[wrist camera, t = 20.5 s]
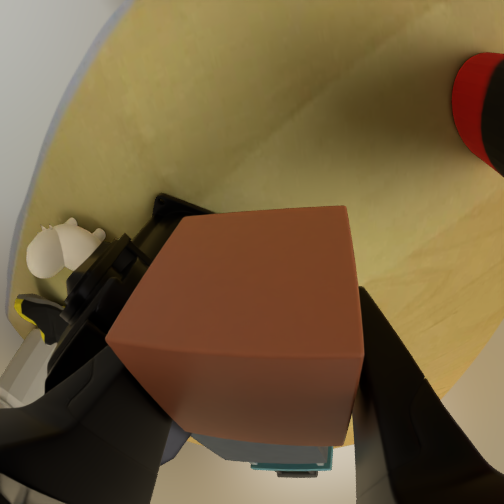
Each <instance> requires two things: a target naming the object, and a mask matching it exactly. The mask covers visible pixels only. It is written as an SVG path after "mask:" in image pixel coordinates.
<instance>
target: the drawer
mask: <svg viewBox="0 0 504 504" xmlns="http://www.w3.org/2000/svg"><path fill="white" fill-rule="evenodd" d="M332 456H333V446H328V456H327V457H328V458H327V463H311V464H278V463H256V462H249V463H251V468H252V469H254V470H272V471H275V472H277V476H278V477H293V478H298V477H299V478H305V477H308V478H309V477H310V478H311V477H317V475H318V471H327V470H332Z"/></svg>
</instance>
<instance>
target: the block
mask: <svg viewBox="0 0 504 504" xmlns="http://www.w3.org/2000/svg"><path fill="white" fill-rule="evenodd" d="M105 340H106V342H107V343H108V345H109V346H110V347H111V349H112V350H113V351H114V353H115V354H116V355H117V356H118V358H119V359H120V360H121V361H122V363H123V364H124V365H125V366H126V368H127V369H128V370H129V371H130V372H131V374H132V375H133V376H134V377H135V378H136V380H137V381H138V382H139V383H140V384H141V385H142V387H143V388H144V389H145V390H146V391H147V392H148V393H149V394H150V396H151V397H152V398H153V399H154V400H155V401H156V402H157V403H158V404H159V405H160V406H161V407H162V409H163V410H164V411H165V412H166V413H167V414H168V415H169V416H170V417H171V418H172V419H173V420H174V421H175V422H176V423H177V424H178V425H179V426H180V427H181V428H182V429H183V430H184V431H186V432H190V433H195V434H200V435H206V436H211V437H218V438H224V439H231V440H238V441H246V442H255V443H265V444H278V445H294V446H342V445H343V444H344V441H345V438H346V434H347V430H348V427H349V423H350V419H351V415H352V411H353V407H354V402H355V398H356V394H357V389H358V385H359V380H360V375H361V370H362V365H363V359H364V341H363V328H362V317H361V306H360V297H359V288H358V280H357V272H356V264H355V257H354V250H353V244H352V237H351V231H350V225H349V219H348V214H347V208H346V206H344V205H342V206H321V207H303V208H286V209H271V210H257V211H244V212H232V213H220V214H208V215H197V216H187V217H184V218H183V219H182V220H181V222H180V223H179V224H178V226H177V227H176V229H175V230H174V231H173V233H172V234H171V236H170V237H169V239H168V240H167V241H166V243H165V244H164V246H163V247H162V249H161V250H160V252H159V253H158V255H157V256H156V258H155V259H154V261H153V262H152V264H151V265H150V267H149V268H148V270H147V271H146V273H145V274H144V276H143V277H142V279H141V280H140V282H139V283H138V285H137V287H136V288H135V290H134V291H133V293H132V294H131V296H130V298H129V299H128V301H127V302H126V304H125V306H124V307H123V309H122V310H121V312H120V314H119V315H118V317H117V319H116V320H115V322H114V324H113V325H112V327H111V329H110V330H109V332H108V334H107V335H106V337H105Z"/></svg>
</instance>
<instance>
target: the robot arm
mask: <svg viewBox="0 0 504 504" xmlns="http://www.w3.org/2000/svg"><path fill="white" fill-rule="evenodd" d="M160 199H163V200H164V203H163V202H161V200H160ZM208 214H216V213H214V212H211V211H209V210H206V209H204V208H201V207H198V206H196V205H193V204H191V203H188V202H185V201H183V200H180V199H177V198H175V197H172V196H170V195H167V194H164V193H161V194H159V195H158V196H157V197H156V198H155V202H154V208H153V214H152V218H151V219H150V220H149V221H148V222H147V223H146V225H145V226H144V227H143V228H142V229H141V231H140V232H139V233H138V234H137V235H136V237H135V238H134V239H133V240H132V241H131V238H130V237H129V236H128V235H127V234H126V233H124V234H123V236H122V237H121V238H120V239H119V240H117V239H116V238H115V239H114V240H113V241H112V242H111V243H108V242H102V243H101V244H100V245H99V246H98V247H97V248H96V249H95V251H94V252H93V253H92V254H91V255H90V256H89V257H88V258H87V259H86V260H85V261H84V262H83V263H82V264H81V265H80V266H79V267H78V268H77V269H76V270H75V271H74V272H73V273H72V274H71V275H70V276H69V278H68V279H67V281H66V284H67V294H68V297H67V298H66V299H65V301H64V302H65V303H66V304H67V305H66V307H65V308H64V310H63V311H62V312H61V314H60V316H61V317H62V318H63V319H64V320H65V321H66V322H68V323H69V325H68V326H67V328H66V329H65V331H64V332H63V334H62V336H61V338H60V340H59V342H58V343H57V345H56V347H55V349H54V351H53V353H52V355H51V357H50V359H49V362H48V364H47V378H46V380H45V390H44V395H43V396H41V397H40V398H39V399H37V400H36V401H34V402H33V403H31V404H28V405H26V406H23V407H16V408H0V504H150V501H151V497H152V493H153V490H154V486H155V482H156V478H157V475H158V474H157V473H158V471H159V467H160V466H161V465H163V464H165V463H166V462H168V461H170V460H172V459H173V458H174V457H175V456H176V455H177V453H178V452H179V450H180V449H181V448H182V446H183V445H184V443H185V442H186V441H187V439H188V438H189V437H190V435H191V434H192V433H190V432H186V431H184V430H183V429H182V428H181V427H180V426H179V425H178V424H177V423H176V422H175V421H174V420H173V419H172V418H171V417H170V416H169V415H168V414H167V413H166V412H165V411H164V410H163V409H162V407H161V406H160V405H159V404H158V403H157V402H156V401H155V400H154V399H153V398H152V397H151V396H150V394H149V393H148V392H147V391H146V390H145V389H144V388H143V387H142V385H141V384H140V383H139V382H138V381H137V380H136V378H135V377H134V376H133V375H132V374H131V372H130V371H129V370H128V369H127V368H126V366H125V365H124V364H123V363H122V361H121V360H120V359H119V358H118V356H117V355H116V354H115V353H114V351H113V350H112V349H111V347H110V346H109V345H108V343H107V342H106V340H105V337H106V335H107V334H108V332H109V330H110V329H111V327H112V325H113V324H114V322H115V320H116V319H117V317H118V315H119V314H120V312H121V310H122V309H123V307H124V306H125V304H126V302H127V301H128V299H129V298H130V296H131V294H132V293H133V291H134V290H135V288H136V287H137V285H138V283H139V282H140V280H141V279H142V277H143V276H144V274H145V273H146V271H147V270H148V268H149V267H150V265H151V264H152V262H153V261H154V259H155V258H156V256H157V255H158V253H159V252H160V250H161V249H162V247H163V246H164V244H165V243H166V241H167V240H168V239H169V237H170V236H171V234H172V233H173V231H174V230H175V229H176V227H177V226H178V224H179V223H180V222H181V220H182V219H183V218H184V217H187V216H197V215H208ZM358 288H359V297H360V306H361V317H362V328H363V341H364V359H363V365H362V370H361V375H360V380H359V385H358V389H357V394H356V398H355V402H354V407H353V411H352V416H353V429H354V445H355V464H356V498H357V500H356V504H504V474H502V473H500V472H499V471H497V470H496V469H494V468H493V467H492V466H491V465H489V464H488V462H486V460H485V459H484V458H483V457H482V456H481V454H480V453H479V452H478V450H477V449H476V448H475V446H474V445H473V444H472V442H471V441H470V440H469V438H468V437H467V436H466V434H465V433H464V432H463V431H462V429H461V428H460V427H459V425H458V424H457V423H456V422H455V420H454V419H453V417H452V416H451V415H450V413H449V412H448V411H447V409H446V408H445V407H444V405H443V404H442V402H441V401H440V399H439V398H438V396H437V395H436V393H435V392H434V390H433V388H432V387H431V385H430V384H429V382H428V380H427V379H426V378H425V379H424V377H425V376H424V374H423V373H422V371H421V370H420V368H419V366H418V365H417V363H416V362H415V360H414V359H413V357H412V356H411V354H410V353H409V351H408V350H407V348H406V347H405V345H404V344H403V342H402V341H401V339H400V338H399V336H398V335H397V333H396V332H395V330H394V329H393V328H392V326H391V325H390V323H389V322H388V320H387V319H386V317H385V316H384V315H383V313H382V312H381V310H380V309H379V308H378V306H377V305H376V303H375V302H374V301H373V299H372V298H371V296H370V295H369V294H368V292H367V291H366V290H365V288H364V287H362V286H358Z"/></svg>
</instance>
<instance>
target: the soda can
mask: <svg viewBox="0 0 504 504" xmlns="http://www.w3.org/2000/svg"><path fill="white" fill-rule="evenodd" d="M452 110H453V116H454V121H455V125H456V127H457V130H458V132H459V135H460V137H461V138H462V140H463V142H464V143H465V145H466V146H467V147H468V148H469V150H470V151H471V152H472V153H474V154H475V155H476V156H477V157H479V158H480V159H481V160H483V161H484V162H485V163H487V164H488V165H489V166H490V167H492V168H493V169H494V170H495V171H497V172H498V173H499V174H500V175H502V176H503V177H504V54H499V53H489V52H487V53H479V54H477V55H475V56H472V57H471V58H470V59H468V60H467V61H466V62H465V63H464V64H463V66H462V67H461V68H460V70H459V72H458V74H457V76H456V78H455V82H454V86H453V90H452Z"/></svg>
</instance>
